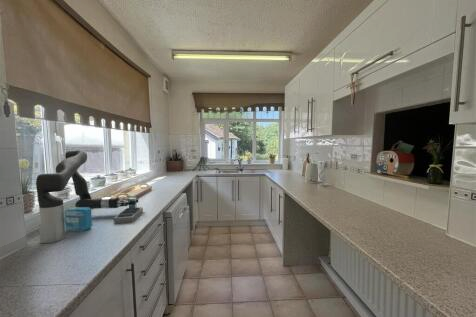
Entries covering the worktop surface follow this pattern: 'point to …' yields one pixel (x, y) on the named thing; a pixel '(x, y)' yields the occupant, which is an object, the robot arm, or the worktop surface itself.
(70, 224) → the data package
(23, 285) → the worktop surface
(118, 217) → the slot rack
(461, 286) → the worktop surface
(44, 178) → the robot arm
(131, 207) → the brushed teal metal block
